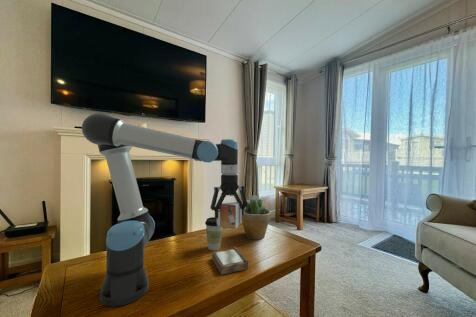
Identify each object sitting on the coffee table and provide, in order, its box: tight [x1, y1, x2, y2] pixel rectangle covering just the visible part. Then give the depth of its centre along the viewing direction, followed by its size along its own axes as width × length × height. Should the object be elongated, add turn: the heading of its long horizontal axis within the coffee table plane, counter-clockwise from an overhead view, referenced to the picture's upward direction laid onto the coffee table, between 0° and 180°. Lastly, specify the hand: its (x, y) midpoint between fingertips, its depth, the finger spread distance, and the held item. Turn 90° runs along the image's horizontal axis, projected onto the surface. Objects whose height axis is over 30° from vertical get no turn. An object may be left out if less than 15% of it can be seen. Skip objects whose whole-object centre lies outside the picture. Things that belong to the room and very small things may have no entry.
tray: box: [211, 246, 249, 275], centre depth 94 cm, size 12×14×4 cm
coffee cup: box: [204, 216, 224, 251], centre depth 110 cm, size 10×10×15 cm
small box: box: [219, 200, 240, 230], centre depth 93 cm, size 8×6×10 cm
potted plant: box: [242, 194, 272, 241], centre depth 127 cm, size 18×19×25 cm
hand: (229, 223), depth 93 cm, fingers closed on small box, 9 cm apart
